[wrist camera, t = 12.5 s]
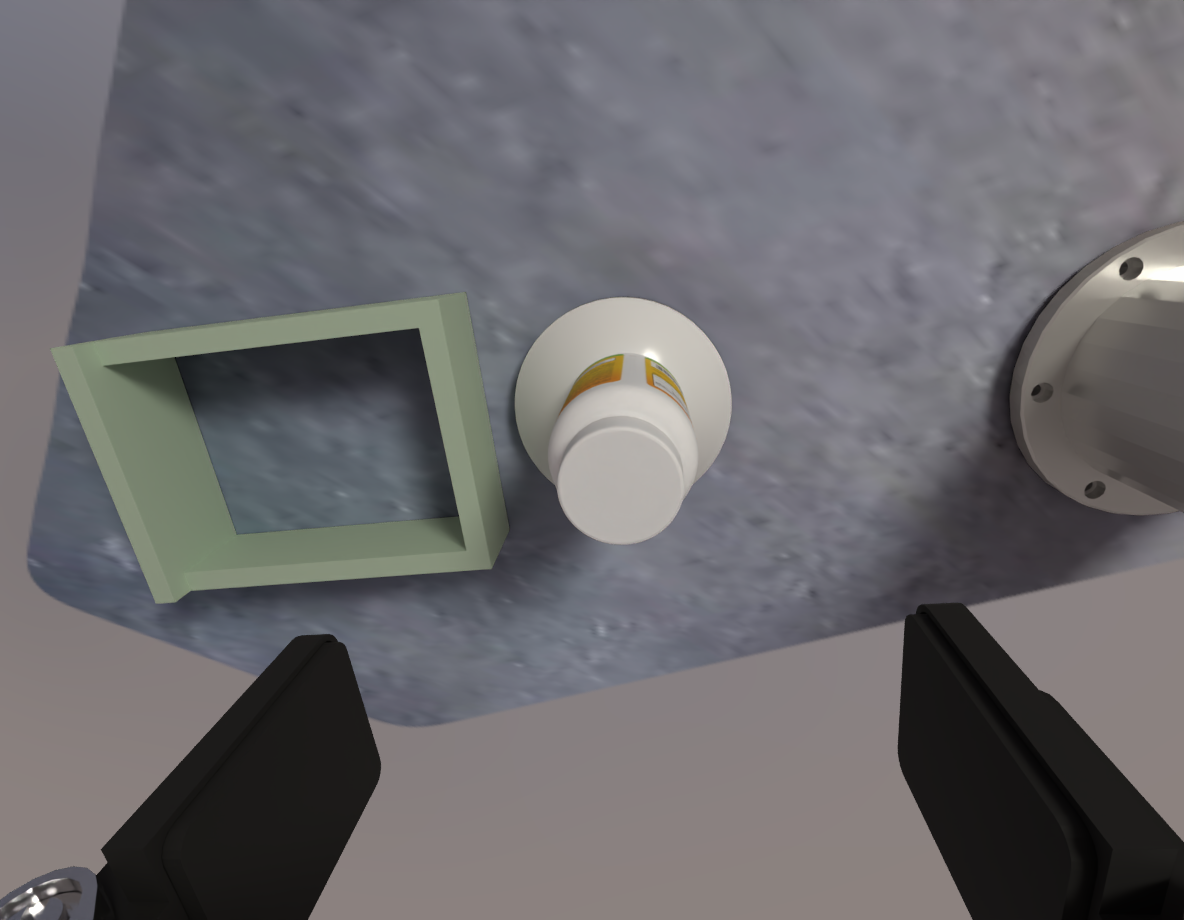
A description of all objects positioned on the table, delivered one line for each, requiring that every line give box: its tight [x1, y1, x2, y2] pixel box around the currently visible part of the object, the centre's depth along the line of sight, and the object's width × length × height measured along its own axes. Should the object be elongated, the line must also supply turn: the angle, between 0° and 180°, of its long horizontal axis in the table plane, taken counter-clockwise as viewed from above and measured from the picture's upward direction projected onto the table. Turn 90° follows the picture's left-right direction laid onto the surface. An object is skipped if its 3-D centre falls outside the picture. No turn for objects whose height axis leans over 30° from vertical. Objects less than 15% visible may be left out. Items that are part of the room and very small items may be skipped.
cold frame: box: [50, 292, 510, 604], centre depth 28 cm, size 16×12×5 cm
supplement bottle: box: [548, 353, 698, 545], centre depth 23 cm, size 5×5×10 cm
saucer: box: [515, 297, 732, 485], centre depth 28 cm, size 10×10×1 cm
